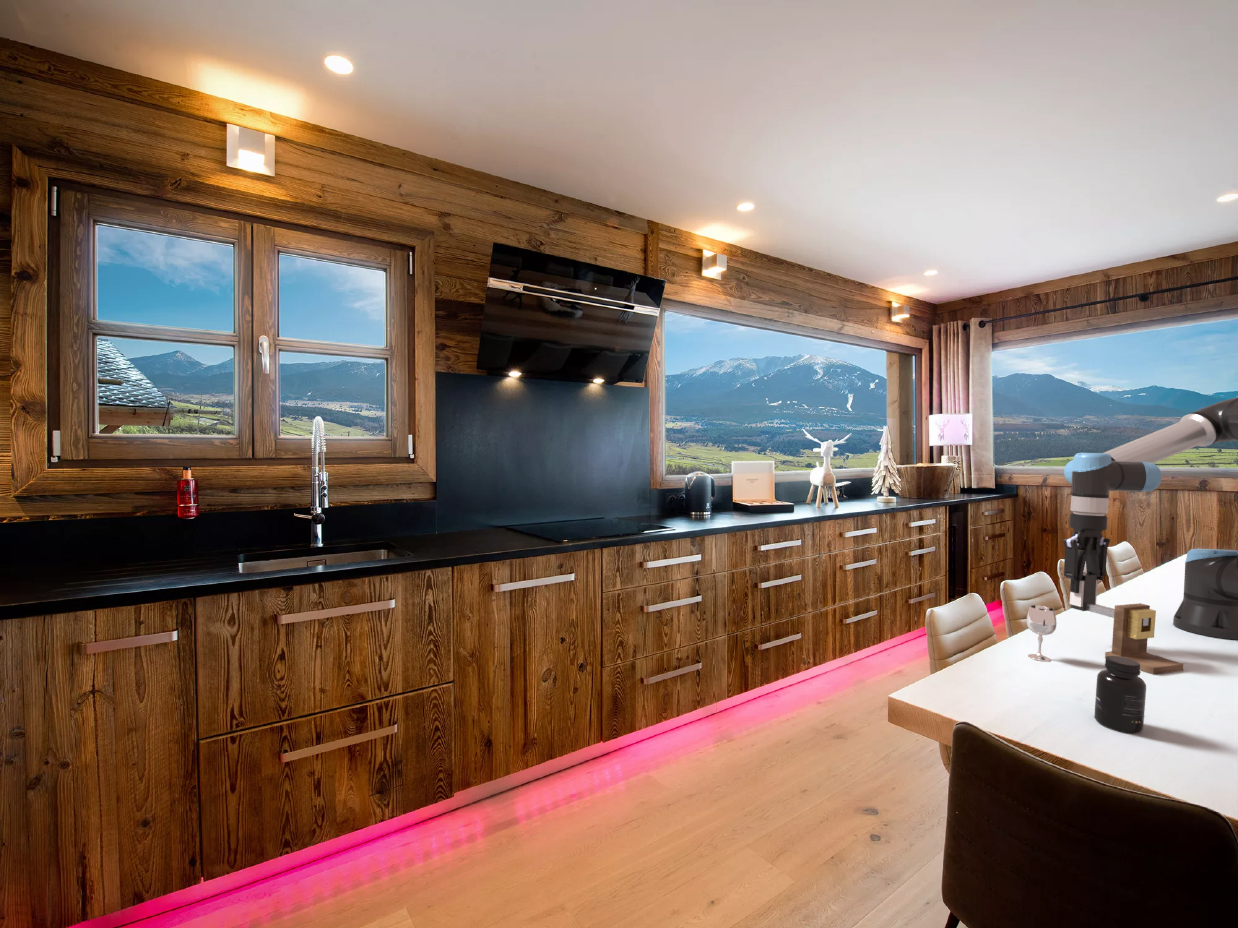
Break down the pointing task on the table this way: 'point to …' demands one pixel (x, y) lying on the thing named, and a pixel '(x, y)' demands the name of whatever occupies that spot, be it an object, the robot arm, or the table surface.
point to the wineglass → (1041, 626)
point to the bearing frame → (1137, 645)
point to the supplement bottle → (1120, 695)
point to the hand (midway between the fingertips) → (1082, 604)
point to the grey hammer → (1090, 599)
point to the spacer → (1135, 623)
